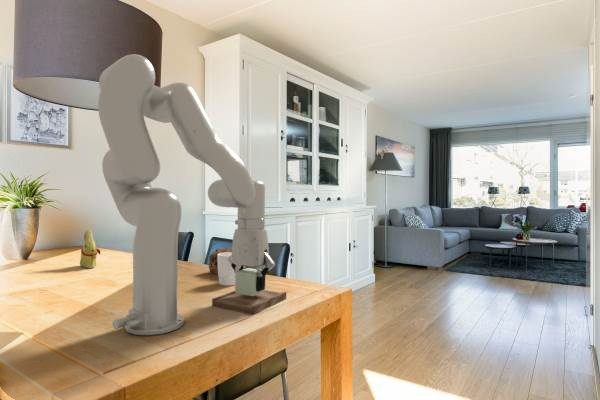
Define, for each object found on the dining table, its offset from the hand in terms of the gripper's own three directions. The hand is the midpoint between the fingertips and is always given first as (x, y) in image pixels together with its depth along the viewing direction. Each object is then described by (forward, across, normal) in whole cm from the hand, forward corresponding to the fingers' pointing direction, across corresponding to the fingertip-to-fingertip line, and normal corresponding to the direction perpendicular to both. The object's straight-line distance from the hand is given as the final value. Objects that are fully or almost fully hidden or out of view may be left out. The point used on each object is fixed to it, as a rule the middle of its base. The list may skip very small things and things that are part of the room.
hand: (250, 288), depth 104 cm
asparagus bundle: (+4, -84, +7) cm, 84 cm away
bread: (+4, -26, +27) cm, 38 cm away
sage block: (+1, 0, 0) cm, 1 cm away
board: (+4, 0, 0) cm, 4 cm away
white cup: (+4, -19, +14) cm, 24 cm away
